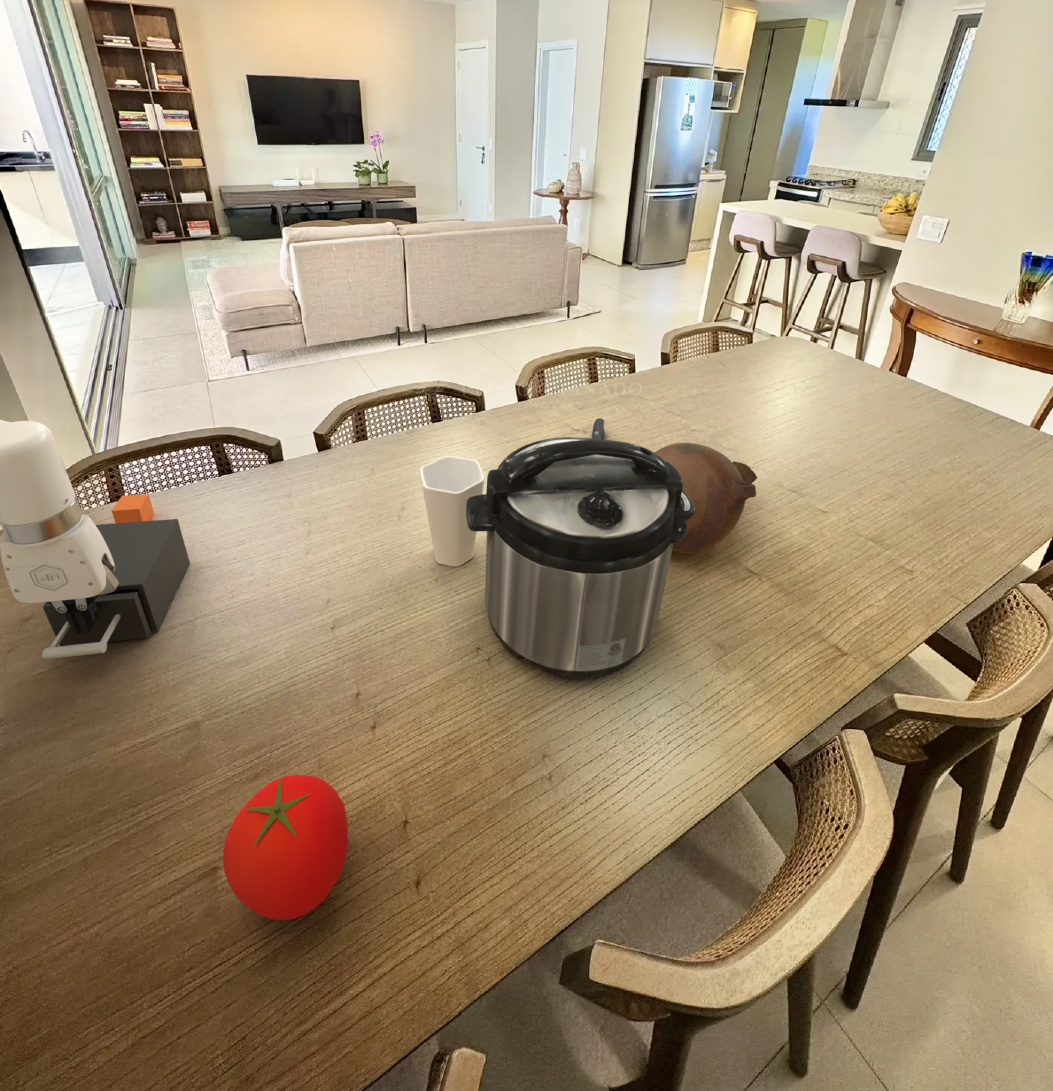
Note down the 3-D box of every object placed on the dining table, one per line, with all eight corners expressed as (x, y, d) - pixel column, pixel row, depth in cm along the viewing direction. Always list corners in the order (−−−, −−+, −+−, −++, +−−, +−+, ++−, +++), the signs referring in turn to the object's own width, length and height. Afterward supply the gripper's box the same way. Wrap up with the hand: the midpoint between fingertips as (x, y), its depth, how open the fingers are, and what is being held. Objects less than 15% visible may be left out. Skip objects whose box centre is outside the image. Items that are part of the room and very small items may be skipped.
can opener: (606, 470, 131) (608, 449, 128) (575, 465, 132) (577, 444, 130) (614, 432, 147) (616, 412, 144) (586, 427, 148) (588, 408, 145)
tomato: (373, 838, 65) (364, 767, 59) (318, 964, 55) (300, 893, 50) (283, 808, 67) (265, 736, 61) (215, 923, 58) (187, 851, 52)
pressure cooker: (683, 585, 101) (717, 423, 86) (639, 727, 77) (676, 538, 63) (524, 531, 111) (531, 380, 97) (444, 641, 88) (438, 463, 74)
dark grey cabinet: (158, 632, 88) (142, 584, 84) (63, 642, 86) (42, 593, 81) (190, 563, 101) (177, 518, 96) (108, 570, 98) (92, 525, 94)
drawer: (129, 674, 80) (114, 634, 77) (35, 685, 78) (15, 644, 75) (179, 571, 98) (168, 534, 94) (103, 578, 96) (89, 540, 92)
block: (117, 530, 107) (111, 510, 105) (128, 515, 111) (122, 495, 109) (144, 528, 108) (138, 508, 106) (154, 513, 112) (148, 493, 110)
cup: (488, 569, 102) (489, 488, 95) (429, 579, 99) (425, 497, 92) (474, 528, 112) (475, 452, 104) (421, 536, 109) (417, 459, 101)
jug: (673, 588, 100) (760, 541, 119) (726, 502, 91) (811, 466, 110) (594, 508, 112) (685, 477, 132) (634, 425, 103) (725, 405, 122)
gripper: (-49, 544, 68) (8, 655, 76) (95, 532, 70) (135, 641, 79) (-8, 504, 74) (40, 610, 83) (122, 495, 77) (157, 598, 85)
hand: (87, 625), depth 81 cm, fingers closed
